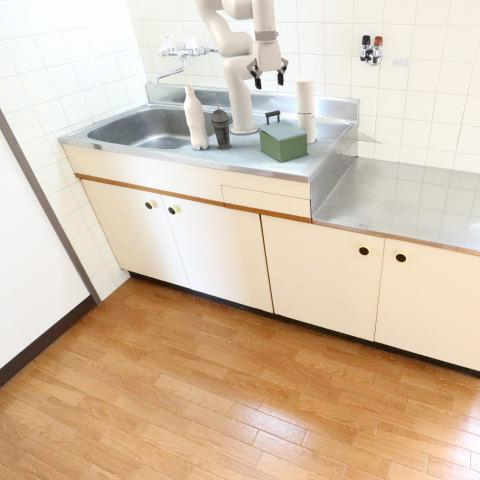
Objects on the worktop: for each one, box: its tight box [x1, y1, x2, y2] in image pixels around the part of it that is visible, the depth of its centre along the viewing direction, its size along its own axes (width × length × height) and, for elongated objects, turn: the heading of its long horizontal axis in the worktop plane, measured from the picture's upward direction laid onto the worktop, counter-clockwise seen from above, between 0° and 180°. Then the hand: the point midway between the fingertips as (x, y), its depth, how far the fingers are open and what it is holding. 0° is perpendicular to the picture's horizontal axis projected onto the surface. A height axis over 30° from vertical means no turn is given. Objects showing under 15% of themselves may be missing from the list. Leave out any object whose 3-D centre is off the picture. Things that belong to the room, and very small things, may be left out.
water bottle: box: [183, 84, 210, 151], centre depth 151 cm, size 7×7×25 cm
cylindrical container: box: [295, 77, 316, 145], centre depth 156 cm, size 7×7×25 cm
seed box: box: [258, 129, 309, 163], centre depth 150 cm, size 16×13×8 cm
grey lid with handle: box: [257, 109, 307, 141], centre depth 146 cm, size 16×13×6 cm
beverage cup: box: [210, 98, 231, 150], centre depth 153 cm, size 7×7×20 cm
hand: (270, 86), depth 143 cm, fingers open, 9 cm apart
